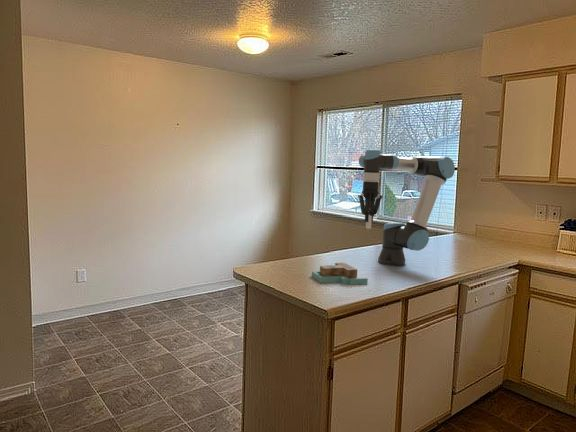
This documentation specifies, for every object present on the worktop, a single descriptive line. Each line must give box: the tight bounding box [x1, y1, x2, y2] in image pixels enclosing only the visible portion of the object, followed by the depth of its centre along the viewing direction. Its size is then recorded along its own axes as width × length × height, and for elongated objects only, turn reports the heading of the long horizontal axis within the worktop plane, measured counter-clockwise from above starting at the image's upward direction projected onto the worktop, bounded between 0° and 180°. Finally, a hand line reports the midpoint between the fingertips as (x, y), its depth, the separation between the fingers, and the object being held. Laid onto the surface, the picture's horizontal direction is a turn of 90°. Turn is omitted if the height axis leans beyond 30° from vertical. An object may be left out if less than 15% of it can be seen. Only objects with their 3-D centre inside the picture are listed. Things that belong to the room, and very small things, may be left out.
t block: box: [319, 262, 358, 278], centre depth 206 cm, size 15×14×6 cm
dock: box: [311, 270, 368, 285], centre depth 207 cm, size 22×21×2 cm
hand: (368, 228), depth 215 cm, fingers closed
